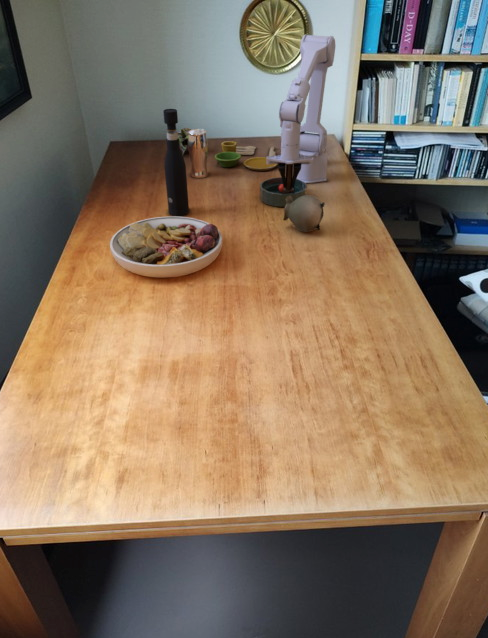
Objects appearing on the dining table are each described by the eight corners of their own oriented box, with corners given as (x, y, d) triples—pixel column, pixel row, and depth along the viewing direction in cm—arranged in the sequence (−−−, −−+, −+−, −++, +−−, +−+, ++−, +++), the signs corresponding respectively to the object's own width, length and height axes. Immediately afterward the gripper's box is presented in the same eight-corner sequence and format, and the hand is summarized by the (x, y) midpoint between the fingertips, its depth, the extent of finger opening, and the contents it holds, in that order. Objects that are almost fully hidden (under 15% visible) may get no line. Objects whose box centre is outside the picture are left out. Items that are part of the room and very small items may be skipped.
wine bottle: (190, 208, 176) (183, 107, 157) (187, 216, 171) (179, 113, 152) (171, 207, 177) (161, 107, 158) (166, 216, 172) (156, 113, 153)
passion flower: (190, 164, 224) (206, 139, 218) (182, 168, 214) (199, 142, 209) (168, 146, 222) (183, 120, 216) (159, 149, 213) (175, 122, 207)
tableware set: (325, 150, 221) (326, 133, 216) (324, 174, 199) (325, 157, 195) (223, 146, 224) (223, 130, 220) (212, 170, 203) (211, 152, 199)
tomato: (285, 190, 186) (285, 181, 184) (288, 193, 184) (289, 184, 182) (277, 191, 186) (277, 182, 184) (280, 194, 183) (280, 186, 182)
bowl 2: (295, 188, 189) (296, 175, 187) (312, 204, 178) (313, 191, 175) (253, 193, 186) (253, 180, 183) (268, 210, 175) (268, 196, 172)
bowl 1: (117, 290, 137) (112, 262, 132) (108, 239, 159) (104, 213, 154) (234, 274, 143) (233, 246, 138) (209, 227, 165) (208, 201, 160)
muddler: (291, 194, 182) (293, 160, 175) (295, 198, 180) (297, 164, 173) (281, 195, 181) (282, 161, 174) (284, 199, 179) (286, 165, 172)
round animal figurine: (294, 219, 170) (296, 186, 163) (329, 227, 165) (333, 194, 158) (278, 231, 163) (279, 197, 156) (315, 240, 158) (318, 206, 152)
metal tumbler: (208, 178, 197) (206, 134, 187) (189, 178, 197) (185, 134, 187) (209, 171, 202) (207, 128, 192) (190, 171, 202) (188, 128, 192)
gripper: (266, 146, 167) (265, 190, 176) (314, 147, 166) (311, 191, 175) (267, 139, 172) (266, 182, 181) (313, 140, 172) (310, 183, 180)
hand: (288, 186), depth 178 cm, fingers closed on muddler, 2 cm apart
